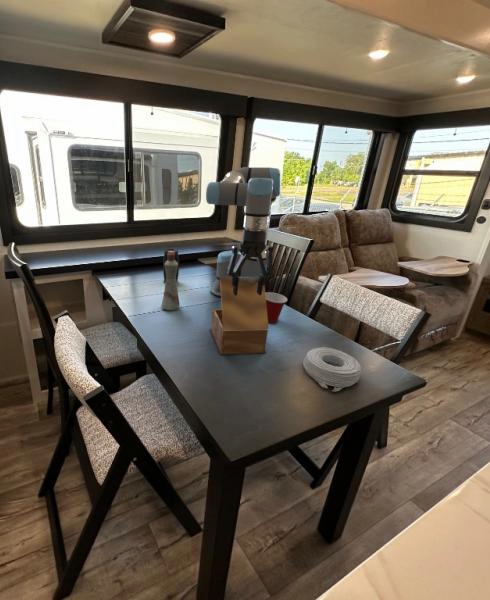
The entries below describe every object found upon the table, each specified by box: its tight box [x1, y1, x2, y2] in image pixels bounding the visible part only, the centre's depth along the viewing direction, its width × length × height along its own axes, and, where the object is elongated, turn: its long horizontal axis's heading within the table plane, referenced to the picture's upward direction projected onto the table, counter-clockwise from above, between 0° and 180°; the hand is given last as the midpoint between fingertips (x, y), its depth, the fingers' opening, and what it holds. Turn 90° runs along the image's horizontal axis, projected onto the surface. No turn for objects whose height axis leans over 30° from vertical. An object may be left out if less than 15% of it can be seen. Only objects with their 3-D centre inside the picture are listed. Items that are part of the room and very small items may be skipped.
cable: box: [302, 347, 362, 393], centre depth 104 cm, size 18×18×6 cm
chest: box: [210, 308, 269, 355], centre depth 122 cm, size 19×17×10 cm
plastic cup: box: [265, 291, 288, 324], centre depth 139 cm, size 11×11×12 cm
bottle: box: [161, 252, 180, 312], centre depth 147 cm, size 9×9×28 cm
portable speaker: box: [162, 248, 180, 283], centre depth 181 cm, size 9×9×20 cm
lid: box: [220, 277, 269, 330], centre depth 110 cm, size 19×17×8 cm
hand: (247, 293), depth 110 cm, fingers closed on lid, 8 cm apart
